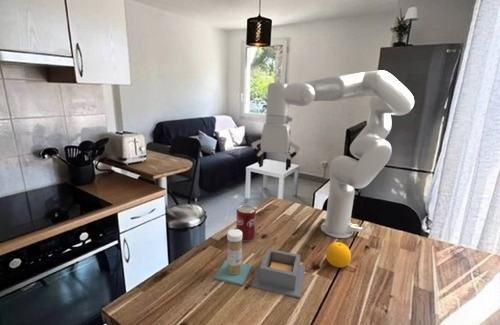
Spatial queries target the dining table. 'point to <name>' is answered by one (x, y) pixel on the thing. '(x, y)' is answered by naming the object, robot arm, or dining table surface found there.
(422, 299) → the dining table surface
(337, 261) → the orange citrus fruit
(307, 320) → the dining table surface
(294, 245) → the dining table surface
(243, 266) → the teal mat
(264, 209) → the dining table surface
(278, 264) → the button
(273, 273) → the frame
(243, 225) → the soda can
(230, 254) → the sprinkles bottle
